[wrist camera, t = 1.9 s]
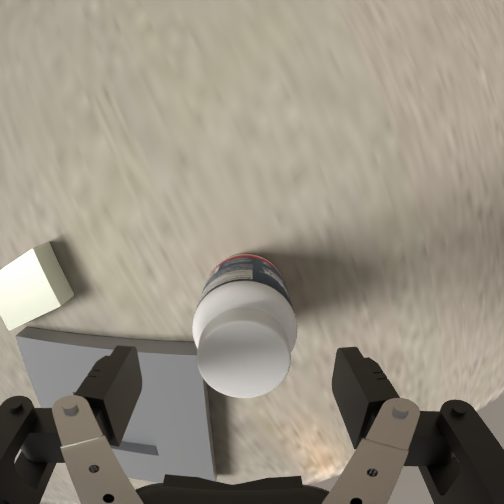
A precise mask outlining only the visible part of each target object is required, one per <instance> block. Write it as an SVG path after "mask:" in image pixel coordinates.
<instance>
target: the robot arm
mask: <svg viewBox="0 0 504 504" xmlns="http://www.w3.org/2000/svg"><path fill="white" fill-rule="evenodd" d="M141 391H142V375H141V369H140V364H139V358H138V352H137V349H136V347H135V346H125V345H117V346H116V347H115V349H114V350H113V352H112V353H111V355H110V356H106V355H105V356H104V357H102V358H101V359H99V360H98V361H96V363H95V364H94V366H93V367H92V369H91V370H90V372H89V373H88V375H87V376H86V378H85V379H84V380H83V382H82V383H81V385H80V386H79V388H78V389H77V391H76V392H75V394H74V395H69V396H65V397H62V398H60V399H58V400H57V401H56V402H55V403H54V404H53V407H52V408H34V406H33V404H32V401H31V400H30V399H29V398H27V397H24V396H14V397H11V398H9V399H7V400H5V401H4V402H3V403H2V405H1V406H0V504H39V503H40V501H41V498H42V496H43V494H44V491H45V489H46V486H47V484H48V482H49V479H50V477H51V475H52V472H53V470H54V468H55V465H56V463H66V466H67V469H68V472H69V474H70V477H71V480H72V482H73V485H74V487H75V490H76V492H77V495H78V497H79V499H80V502H81V504H387V503H388V501H389V499H390V496H391V494H392V492H393V490H394V487H395V485H396V483H397V480H398V478H399V475H400V473H401V470H402V468H403V466H418V467H419V469H420V472H421V474H422V476H423V479H424V481H425V483H426V485H427V488H428V490H429V493H430V495H431V497H432V499H433V502H434V504H504V449H503V448H502V447H501V445H500V444H499V442H498V441H497V440H496V438H495V437H494V435H493V434H492V433H491V431H490V430H489V428H488V427H487V426H486V424H485V423H484V422H483V420H482V419H481V418H480V416H479V415H478V413H477V412H476V411H475V409H474V408H473V407H472V406H471V405H470V404H468V403H467V402H464V401H461V400H449V401H447V402H445V403H444V404H443V405H442V407H441V409H440V412H435V411H420V410H419V407H418V406H417V405H416V404H415V403H414V402H412V401H410V400H408V399H404V398H400V397H399V395H398V394H397V392H396V391H395V389H394V387H393V386H392V384H391V383H390V381H389V380H388V379H387V377H386V375H385V374H384V373H383V371H382V369H381V367H380V366H379V364H378V363H376V362H375V361H373V360H372V359H370V358H369V357H368V358H364V357H363V356H362V354H361V353H360V351H359V349H358V348H357V347H346V348H338V350H337V353H336V359H335V365H334V371H333V377H332V391H333V394H334V397H335V400H336V402H337V405H338V407H339V410H340V413H341V415H342V418H343V420H344V423H345V426H346V428H347V431H348V433H349V436H350V439H351V441H352V444H353V447H354V449H356V451H355V452H354V454H353V456H352V457H351V459H350V461H349V462H348V464H347V466H346V467H345V469H344V471H343V472H342V474H341V475H340V477H339V479H338V480H337V482H336V483H335V485H334V486H333V488H332V489H331V491H330V492H329V491H327V490H324V489H322V488H318V487H314V486H309V485H302V479H301V476H293V477H277V478H265V479H261V480H256V481H251V482H246V483H241V484H236V485H229V484H225V483H220V482H216V481H212V480H207V479H203V478H200V477H191V476H179V475H169V474H165V476H164V481H163V483H157V484H151V485H148V486H144V487H141V488H139V489H136V490H135V489H134V488H133V486H132V484H131V483H130V481H129V479H128V478H127V476H126V474H125V472H124V471H123V469H122V467H121V465H120V464H119V462H118V460H117V458H116V456H115V454H114V452H113V451H112V449H111V447H110V445H112V446H117V447H119V446H120V444H121V441H122V439H123V436H124V433H125V431H126V428H127V426H128V423H129V421H130V418H131V416H132V413H133V411H134V408H135V406H136V403H137V401H138V398H139V396H140V394H141ZM20 449H21V450H22V451H21V453H20V455H19V457H18V459H17V460H16V462H15V464H14V461H15V457H16V455H17V453H18V452H19V450H20ZM455 456H456V457H455ZM456 458H457V459H456Z"/></svg>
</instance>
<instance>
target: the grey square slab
mask: <svg viewBox="0 0 504 504" xmlns="http://www.w3.org/2000/svg"><path fill="white" fill-rule="evenodd" d="M16 339H17V343H18V346H19V349H20V352H21V355H22V358H23V361H24V364H25V367H26V370H27V373H28V376H29V378H30V381H31V384H32V386H33V389H34V391H35V394H36V396H37V399H38V401H39V404H40V406H41V408H52V407H53V404H54V403H55V402H56V401H57V400H58V399H60V398H62V397H65V396H69V395H74V394H75V392H76V391H77V389H78V388H79V386H80V385H81V383H82V382H83V380H84V379H85V378H86V376H87V375H88V373H89V372H90V370H91V369H92V367H93V366H94V364H95V363H96V361H98V360H99V359H101V358H102V357H104V356H105V355H106V356H110V355H111V353H112V352H113V350H114V349H115V347H116V346H117V345H125V346H135V347H136V349H137V352H138V358H139V364H140V369H141V375H142V391H141V394H140V396H139V398H138V401H137V403H136V406H135V408H134V411H133V413H132V416H131V418H130V421H129V423H128V426H127V428H126V431H125V433H124V436H123V439H122V441H121V444H120V446H119V447H117V446H112V445H110V447H111V449H112V451H113V452H114V454H115V456H116V458H117V460H118V462H119V464H120V465H121V467H122V469H123V471H124V472H125V474H126V476H127V477H128V478H133V479H139V480H145V481H152V482H159V483H163V481H164V476H165V474H169V475H179V476H191V477H200V478H203V479H207V480H212V481H216V479H217V471H216V463H215V455H214V446H213V437H212V428H211V419H210V408H209V398H208V387H207V382H206V381H205V380H204V379H203V377H202V376H201V374H200V371H199V369H198V365H197V350H198V349H197V347H196V344H195V342H176V341H157V340H141V339H127V338H115V337H104V336H94V335H84V334H75V333H67V332H59V331H51V330H44V329H37V328H30V327H26V328H24V329H23V330H22V331H21V332H20V333H18V334H17V335H16Z"/></svg>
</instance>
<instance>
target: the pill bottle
mask: <svg viewBox="0 0 504 504" xmlns="http://www.w3.org/2000/svg"><path fill="white" fill-rule="evenodd" d="M193 337H194V341H195V344H196V347H197V349H198V350H197V365H198V369H199V371H200V374H201V376H202V377H203V379H204V380H205V381H206V382H207V383H208V384H209V385H210V386H211V387H212V388H213V389H215V390H216V391H218V392H220V393H222V394H225V395H227V396H231V397H237V398H252V397H257V396H261V395H264V394H266V393H268V392H270V391H272V390H274V389H275V388H276V387H277V386H279V385H280V384H281V383H282V382H283V380H284V379H285V378H286V376H287V374H288V372H289V369H290V365H291V352H292V350H293V348H294V345H295V342H296V338H297V322H296V317H295V313H294V310H293V307H292V304H291V302H290V298H289V295H288V292H287V289H286V285H285V282H284V280H283V277H282V275H281V273H280V272H279V270H278V269H277V268H276V267H275V266H274V265H273V264H272V263H271V262H270V261H268V260H266V259H265V258H263V257H260V256H257V255H252V254H239V255H234V256H231V257H229V258H227V259H225V260H223V261H222V262H220V263H219V264H218V265H217V266H216V267H215V268H214V269H213V271H212V272H211V274H210V276H209V278H208V280H207V282H206V285H205V287H204V290H203V292H202V295H201V297H200V300H199V303H198V305H197V308H196V311H195V315H194V319H193Z"/></svg>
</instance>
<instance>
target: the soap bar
mask: <svg viewBox="0 0 504 504" xmlns="http://www.w3.org/2000/svg"><path fill="white" fill-rule="evenodd" d="M73 296H74V293H73V291H72V289H71V287H70V285H69V283H68V281H67V279H66V277H65V275H64V273H63V271H62V269H61V267H60V265H59V263H58V261H57V258H56V256H55V254H54V252H53V250H52V247H51V245H50V243H49V242H46V243H44V244H42V245H39V246H37V247H35V248H32V249H31V250H29V251H28V252H26V253H25V254H23V255H22V256H20V257H19V258H17V259H16V260H14V261H13V262H11V263H10V264H9V265H7V266H6V267H4V268H3V269H1V270H0V315H1V317H2V319H3V321H4V323H5V325H6V326H7V328H8V330H9V331H10V330H12V329H14V328H16V327H18V326H20V325H22V324H24V323H26V322H28V321H31V320H33V319H35V318H37V317H39V316H41V315H43V314H45V313H47V312H50V311H52V310H54V309H56V308H58V307H60V306H62V305H63V304H64V303H65V302H67V301H68V300H69V299H70V298H72V297H73Z"/></svg>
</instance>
